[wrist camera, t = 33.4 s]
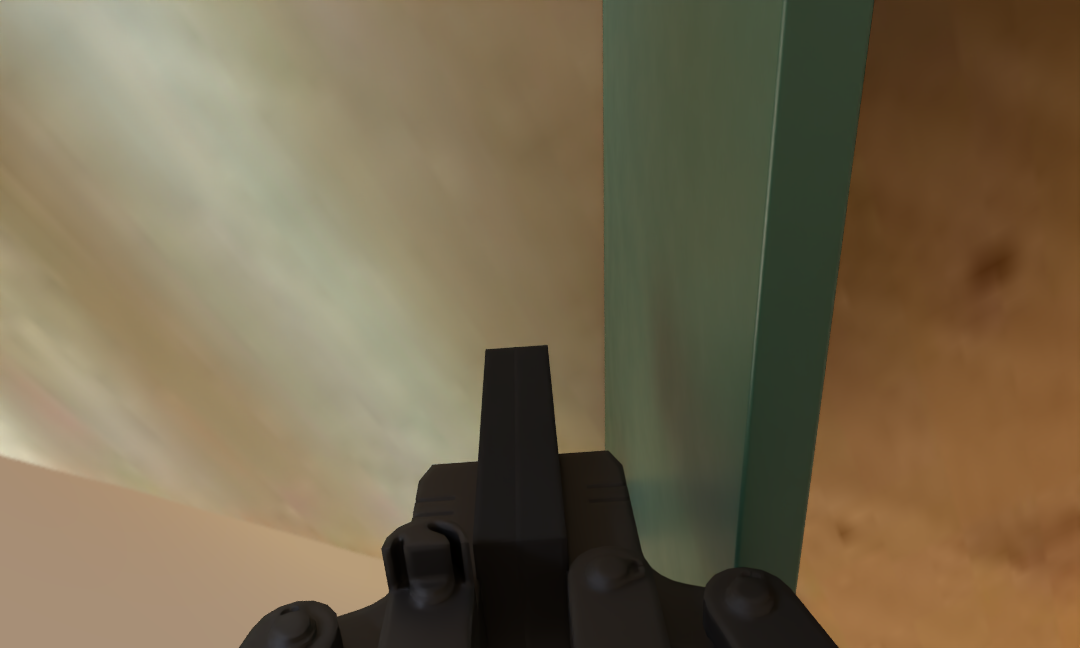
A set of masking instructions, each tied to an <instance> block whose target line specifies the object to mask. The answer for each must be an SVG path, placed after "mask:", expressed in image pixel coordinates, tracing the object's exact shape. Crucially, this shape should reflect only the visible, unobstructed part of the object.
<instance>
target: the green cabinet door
mask: <svg viewBox="0 0 1080 648" xmlns="http://www.w3.org/2000/svg"><path fill="white" fill-rule="evenodd" d="M873 6H874V0H603V133H604V317H605V451H607V450H608V451H609V452H610V453H611V454H612V455H613V456H614V457H615V458H616V459H617V460H618V461H619V462H620V463H621V464H622V465H623V469H624V474H625V478H626V484H627V487H628V492H629V496H630V501H631V505H632V509H633V514H634V518H635V523H636V527H637V532H638V536H639V540H640V545H641V549H642V553H643V555H644V558H645V559H646V560H647V561H648V563H649V565H650V566H651V567H652V568H653V569H654V570H655V571H657V572H658V573H659V574H661V575H663V576H665V577H667V578H669V579H671V580H674V581H677V582H681V583H685V584H690V585H696V586H702V587H705V586H706V584H707V583H708V581H709V580H710V579H711V578H712V577H713V576H714V575H715V574H717V573H719V572H721V571H724V570H726V569H729V568H739V567H748V568H754V569H760V570H763V571H766V572H768V573H770V574H772V575H774V576H777V577H778V578H779V579H781V580H782V581H783V582H784V583H785V584H786V585H788V586H789V587H790V588H791V590H792V591H793V592H794V593H795V595H796V587H797V580H798V572H799V564H800V557H801V549H802V542H803V534H804V527H805V519H806V512H807V504H808V497H809V489H810V481H811V474H812V466H813V459H814V451H815V444H816V436H817V429H818V421H819V414H820V406H821V399H822V391H823V383H824V376H825V368H826V361H827V353H828V346H829V338H830V331H831V323H832V316H833V308H834V300H835V293H836V285H837V278H838V270H839V263H840V255H841V248H842V240H843V233H844V225H845V217H846V210H847V202H848V195H849V187H850V180H851V172H852V165H853V157H854V150H855V142H856V134H857V127H858V119H859V112H860V104H861V97H862V89H863V82H864V74H865V67H866V59H867V52H868V44H869V36H870V29H871V21H872V14H873Z"/></svg>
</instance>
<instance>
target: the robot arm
mask: <svg viewBox="0 0 1080 648" xmlns="http://www.w3.org/2000/svg"><path fill="white" fill-rule="evenodd" d="M381 550H382V555H383V561H384V566H385V571H386V577H387V582H388V587H389V593H388V594H387V595H386V596H385V597H384V598H382V599H380V600H379V601H377V602H376V603H374V604H372V605H370V606H367V607H365V608H362V609H360V610H357V611H354V612H351V613H348V614H344V615H341V616H338V617H337V615H336V613H335V612H334V611H333V610H332V609H331V608H330V607H329V606H328V605H326V604H323V603H320V602H316V601H297V602H294V603H291V604H287V605H284V606H281V607H279V608H277V609H276V610H274V611H272V612H270V613H269V614H267V615H265V616H264V617H263V618H262V619H261V620H260V621H259V622H258V623H257V624H256V625H255V626H254V627H253V629H252V630H251V631H250V632H249V634H248V635H247V637H246V638H245V640H244V641H243V643H242V644H241V646H240V647H239V648H839V647H838V646H837V645H836V644H835V643H834V641H833V640H832V639H831V638H830V636H829V635H828V634H827V633H826V631H825V630H824V629H823V628H822V627H821V625H820V624H819V623H818V622H817V620H816V619H815V618H814V617H813V615H812V614H811V613H810V612H809V611H808V609H807V608H806V607H805V606H804V604H803V603H802V602H801V601H800V599H799V598H798V597H797V596H796V595H795V593H794V592H793V591H792V590H791V588H790V587H789V586H788V585H786V584H785V583H784V582H783V581H782V580H781V579H779V578H778V577H777V576H774V575H772V574H770V573H768V572H766V571H763V570H760V569H754V568H748V567H739V568H729V569H726V570H724V571H721V572H719V573H717V574H715V575H714V576H713V577H712V578H711V579H710V580H709V581H708V583H707V584H706V586H705V587H702V586H696V585H690V584H685V583H681V582H677V581H674V580H671V579H669V578H667V577H665V576H663V575H661V574H659V573H658V572H657V571H655V570H654V569H653V568H652V567H651V566H650V565H649V563H648V561H647V560H646V559H645V558H644V555H643V553H642V549H641V545H640V540H639V536H638V532H637V527H636V523H635V518H634V514H633V509H632V505H631V501H630V496H629V492H628V487H627V484H626V478H625V474H624V469H623V465H622V464H621V463H620V462H619V461H618V460H617V459H616V458H615V457H614V456H613V455H612V454H611V453H610V452H609V451H608V450H607V451H593V452H579V453H565V454H558V445H557V435H556V425H555V414H554V404H553V394H552V384H551V374H550V364H549V353H548V345H542V346H528V347H513V348H499V349H486V351H485V366H484V380H483V395H482V410H481V425H480V440H479V454H478V461H477V462H463V463H449V464H435V465H432V466H431V467H430V468H429V470H428V471H427V472H426V473H425V475H424V476H423V477H422V478H421V479H420V481H419V484H418V489H417V495H416V503H415V506H414V511H413V518H412V521H411V522H409V523H407V524H405V525H403V526H401V527H398V528H397V529H396V530H395V531H394V532H393V533H392V534H390V535H389V536H388V537H387V538H386V540H385V542H384V544H383V546H382V548H381Z"/></svg>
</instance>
